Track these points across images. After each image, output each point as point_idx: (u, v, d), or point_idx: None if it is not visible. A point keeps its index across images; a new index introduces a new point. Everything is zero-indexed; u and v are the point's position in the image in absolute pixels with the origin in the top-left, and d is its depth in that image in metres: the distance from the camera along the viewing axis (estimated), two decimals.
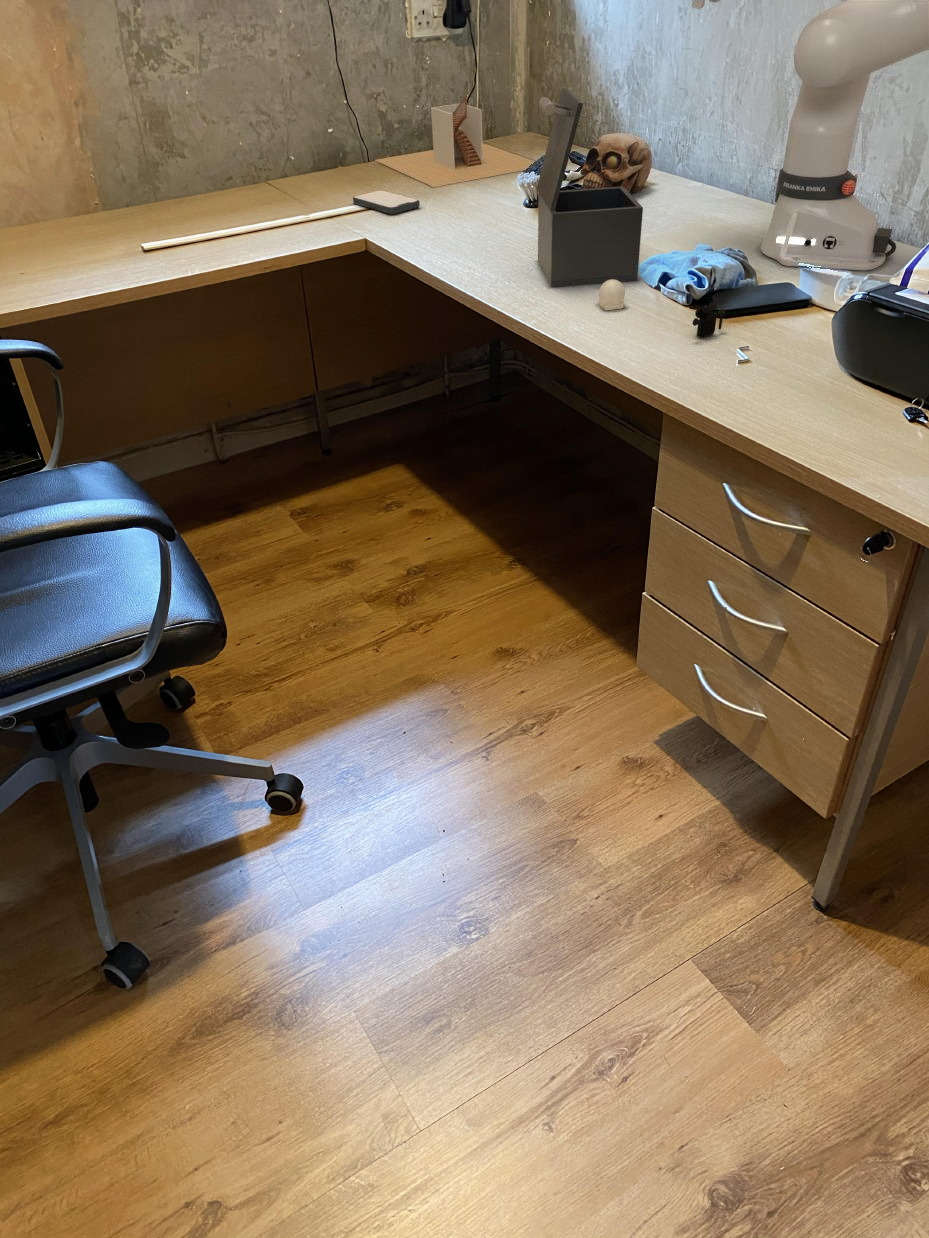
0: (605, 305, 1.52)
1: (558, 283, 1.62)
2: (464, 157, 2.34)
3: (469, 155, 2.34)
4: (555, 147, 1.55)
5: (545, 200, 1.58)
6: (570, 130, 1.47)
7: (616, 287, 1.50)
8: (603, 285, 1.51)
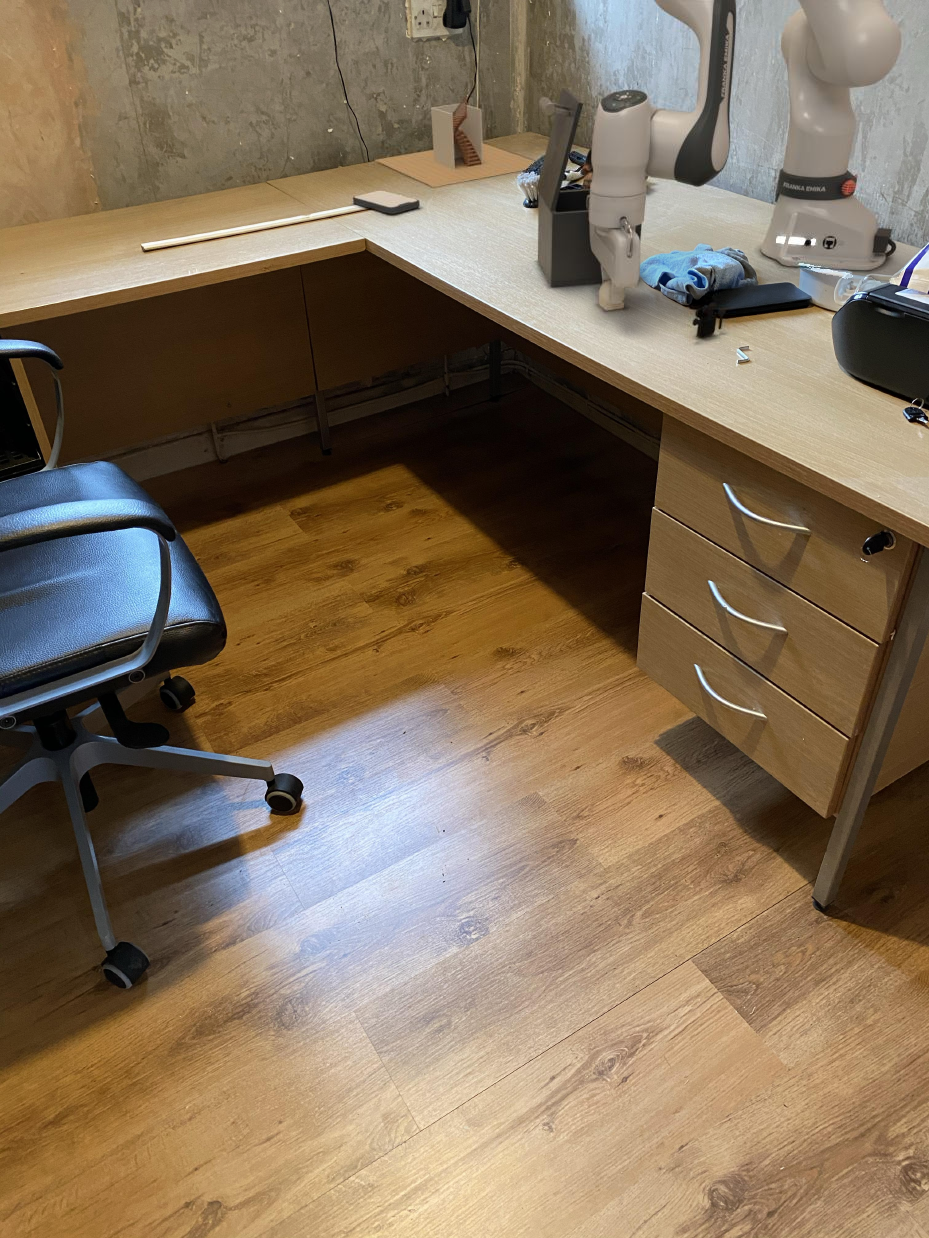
0: (605, 305, 1.52)
1: (558, 283, 1.62)
2: (464, 157, 2.34)
3: (469, 155, 2.34)
4: (555, 147, 1.55)
5: (545, 200, 1.58)
6: (570, 130, 1.47)
7: None
8: (603, 285, 1.51)
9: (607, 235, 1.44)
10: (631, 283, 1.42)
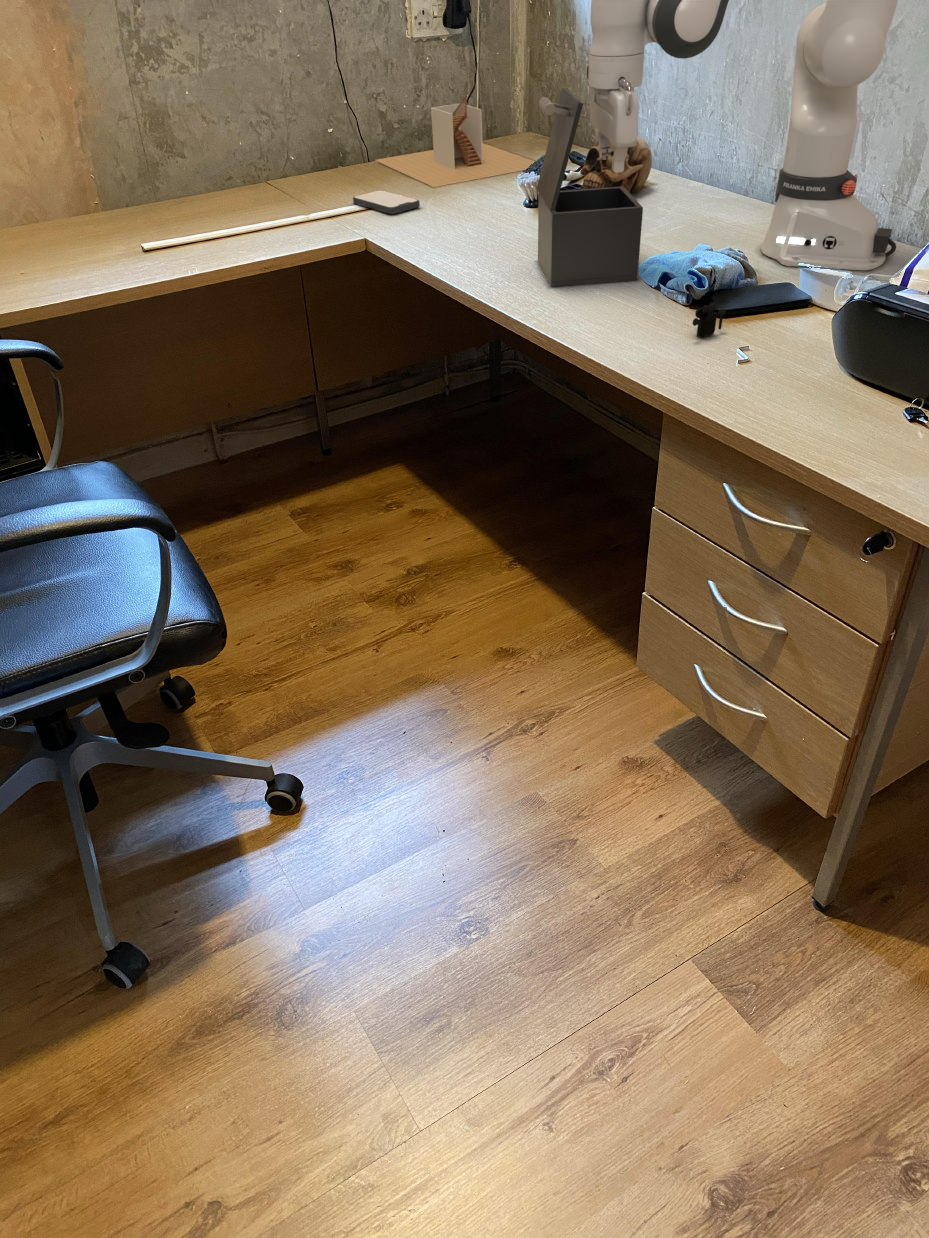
0: None
1: (558, 283, 1.62)
2: (464, 157, 2.34)
3: (469, 155, 2.34)
4: (555, 147, 1.55)
5: (545, 200, 1.58)
6: (570, 130, 1.47)
7: None
8: None
9: (606, 98, 1.48)
10: (630, 142, 1.46)
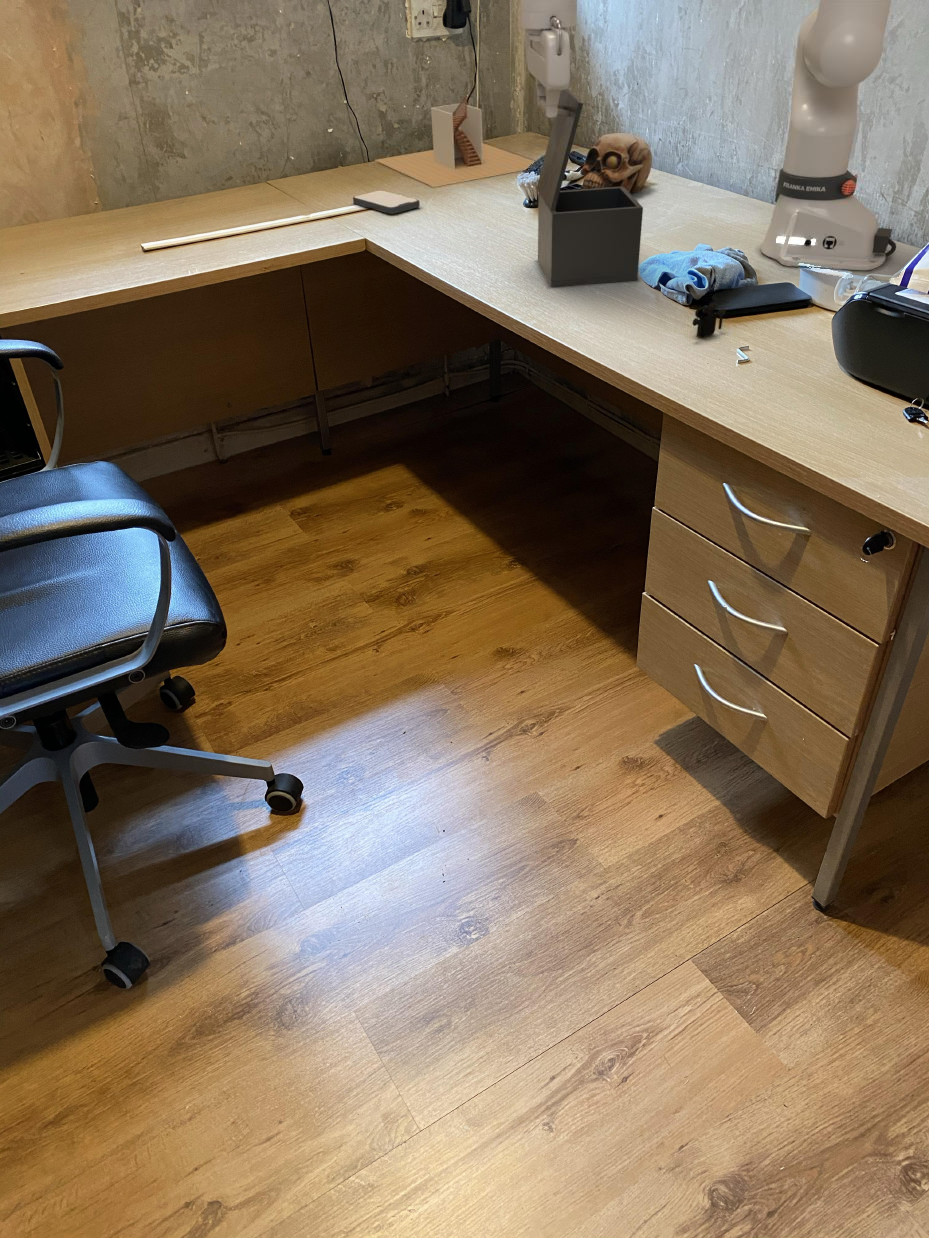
0: None
1: (558, 283, 1.62)
2: (464, 157, 2.34)
3: (469, 155, 2.34)
4: (555, 147, 1.55)
5: (545, 200, 1.58)
6: (570, 130, 1.47)
7: None
8: None
9: (539, 39, 1.42)
10: (562, 85, 1.40)
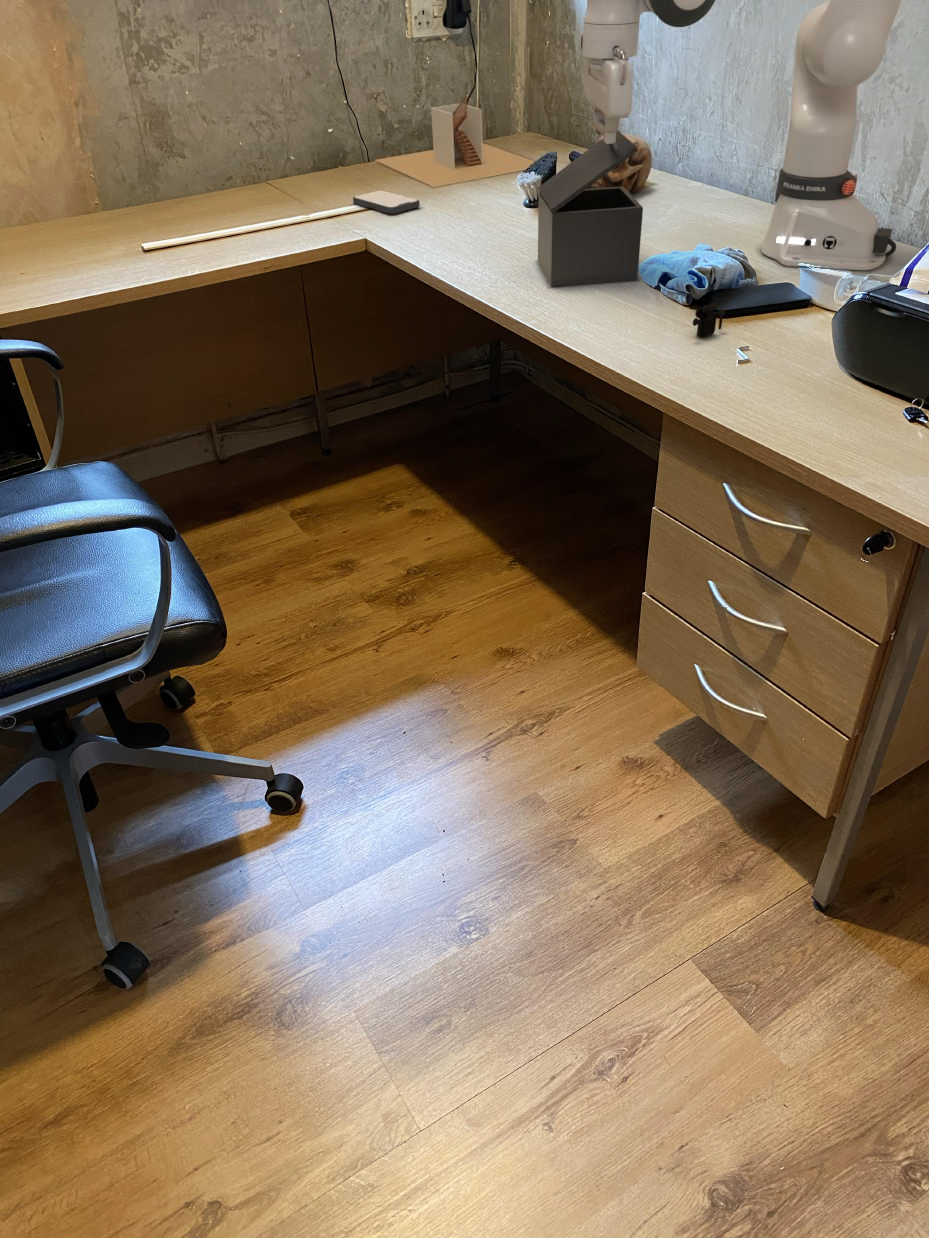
0: None
1: (558, 283, 1.62)
2: (464, 157, 2.34)
3: (469, 155, 2.34)
4: (583, 166, 1.58)
5: (547, 199, 1.58)
6: (613, 161, 1.51)
7: None
8: None
9: (600, 68, 1.46)
10: (623, 113, 1.43)
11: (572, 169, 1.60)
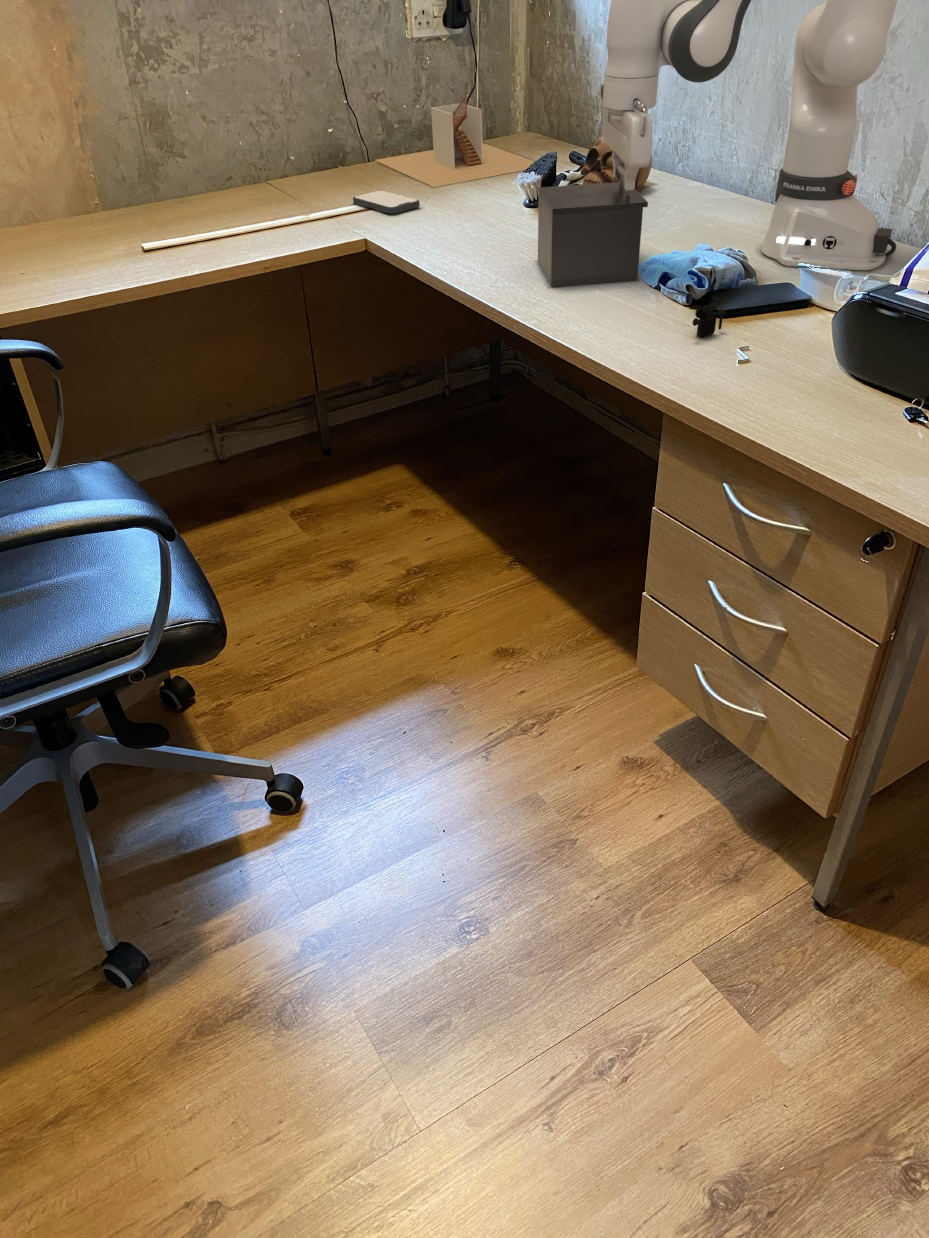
0: None
1: (558, 283, 1.62)
2: (464, 157, 2.34)
3: (469, 155, 2.34)
4: (591, 193, 1.60)
5: (549, 200, 1.58)
6: (623, 203, 1.55)
7: None
8: None
9: (620, 119, 1.51)
10: (643, 163, 1.48)
11: (578, 190, 1.62)
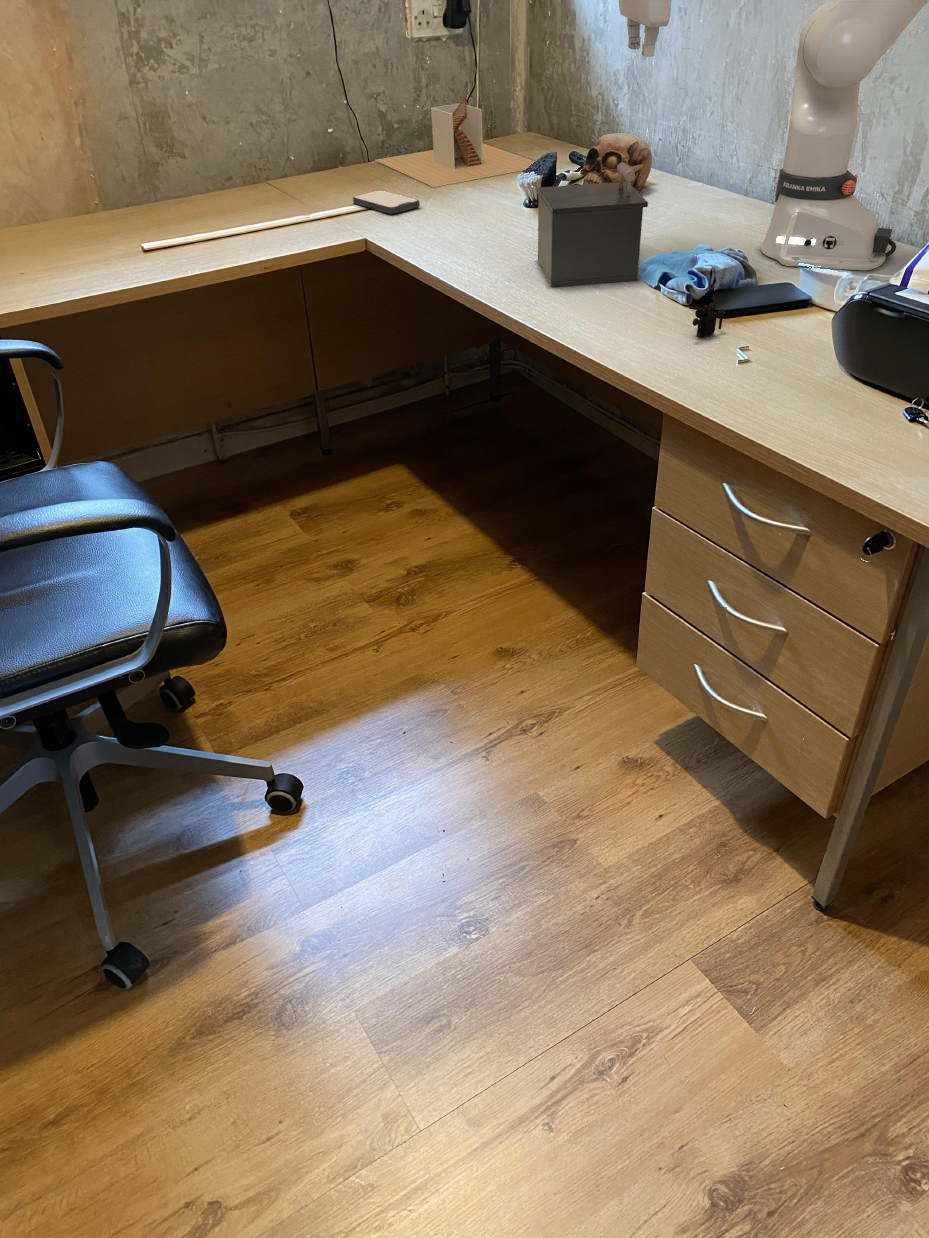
0: None
1: (558, 283, 1.62)
2: (464, 157, 2.34)
3: (469, 155, 2.34)
4: (591, 193, 1.60)
5: (549, 200, 1.58)
6: (623, 203, 1.55)
7: None
8: None
9: None
10: (662, 21, 1.44)
11: (578, 190, 1.62)
